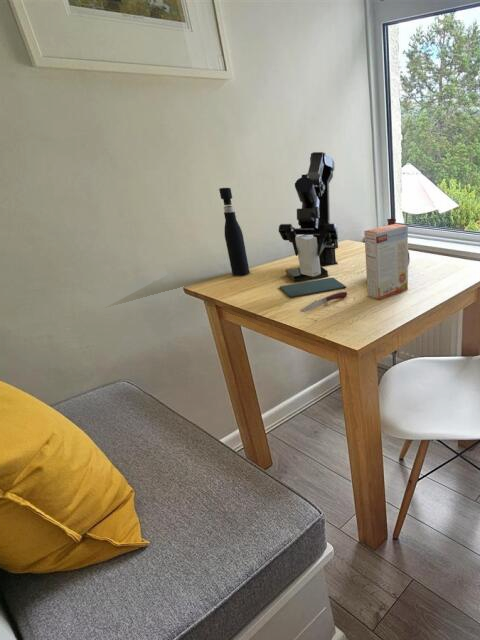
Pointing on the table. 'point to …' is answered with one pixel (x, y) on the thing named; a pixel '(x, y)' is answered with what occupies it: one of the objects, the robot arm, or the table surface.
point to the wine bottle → (234, 237)
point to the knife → (324, 301)
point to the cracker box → (386, 260)
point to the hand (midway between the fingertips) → (307, 255)
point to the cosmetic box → (308, 255)
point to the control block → (297, 276)
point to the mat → (312, 287)
